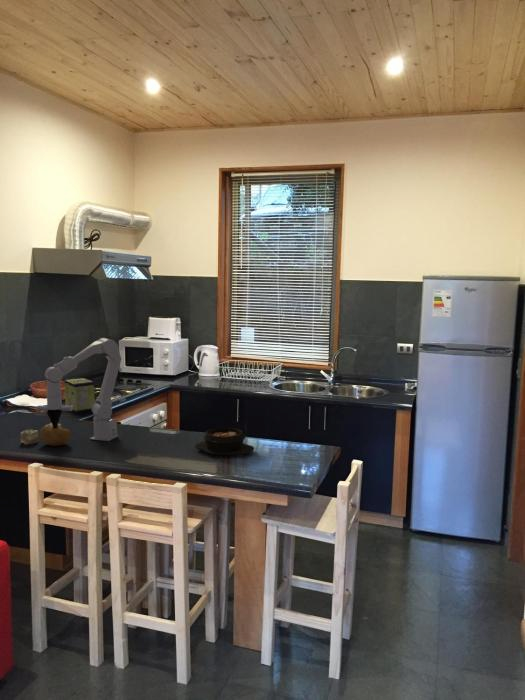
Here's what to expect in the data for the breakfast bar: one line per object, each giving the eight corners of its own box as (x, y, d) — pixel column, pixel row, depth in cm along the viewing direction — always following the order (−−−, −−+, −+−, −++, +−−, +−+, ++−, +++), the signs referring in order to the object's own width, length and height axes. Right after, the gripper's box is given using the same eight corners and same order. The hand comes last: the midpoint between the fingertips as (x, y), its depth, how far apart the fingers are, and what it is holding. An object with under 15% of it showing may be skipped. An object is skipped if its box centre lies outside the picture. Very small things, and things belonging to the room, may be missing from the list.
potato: (61, 450, 233) (61, 431, 232) (34, 446, 238) (33, 428, 237) (77, 444, 243) (76, 425, 241) (50, 440, 247) (50, 422, 246)
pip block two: (61, 434, 256) (61, 423, 256) (54, 437, 252) (54, 426, 251) (51, 433, 258) (51, 422, 257) (44, 436, 253) (44, 425, 252)
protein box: (83, 405, 313) (82, 377, 311) (95, 410, 301) (94, 381, 299) (64, 408, 307) (63, 379, 305) (76, 413, 295) (75, 384, 293)
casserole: (186, 454, 230) (186, 434, 229) (208, 442, 247) (208, 423, 245) (242, 462, 220) (242, 441, 219) (261, 449, 237) (261, 429, 236)
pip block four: (38, 441, 246) (38, 430, 245) (31, 444, 241) (30, 433, 240) (28, 440, 247) (28, 429, 246) (21, 444, 242) (20, 432, 241)
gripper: (74, 393, 242) (75, 424, 244) (39, 393, 241) (40, 425, 243) (69, 397, 235) (70, 429, 237) (33, 397, 234) (35, 429, 236)
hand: (55, 427), depth 239 cm, fingers closed, pressing on potato
